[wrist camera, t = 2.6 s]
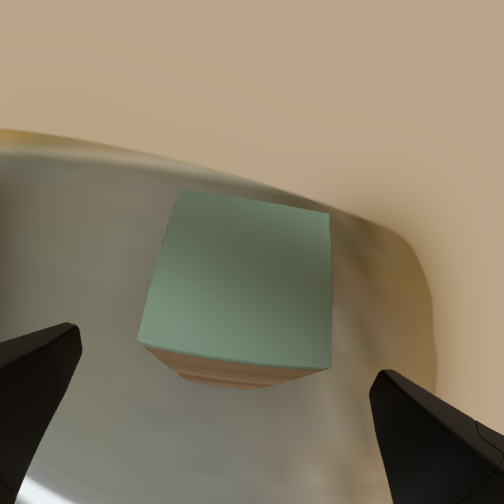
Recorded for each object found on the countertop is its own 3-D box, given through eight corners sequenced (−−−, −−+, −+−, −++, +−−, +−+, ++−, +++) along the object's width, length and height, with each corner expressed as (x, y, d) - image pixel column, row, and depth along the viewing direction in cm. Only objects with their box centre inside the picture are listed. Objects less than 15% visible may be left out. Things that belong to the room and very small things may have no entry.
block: (253, 389, 16) (330, 367, 5) (187, 380, 16) (136, 341, 5) (259, 328, 18) (328, 213, 7) (197, 318, 18) (180, 188, 7)
